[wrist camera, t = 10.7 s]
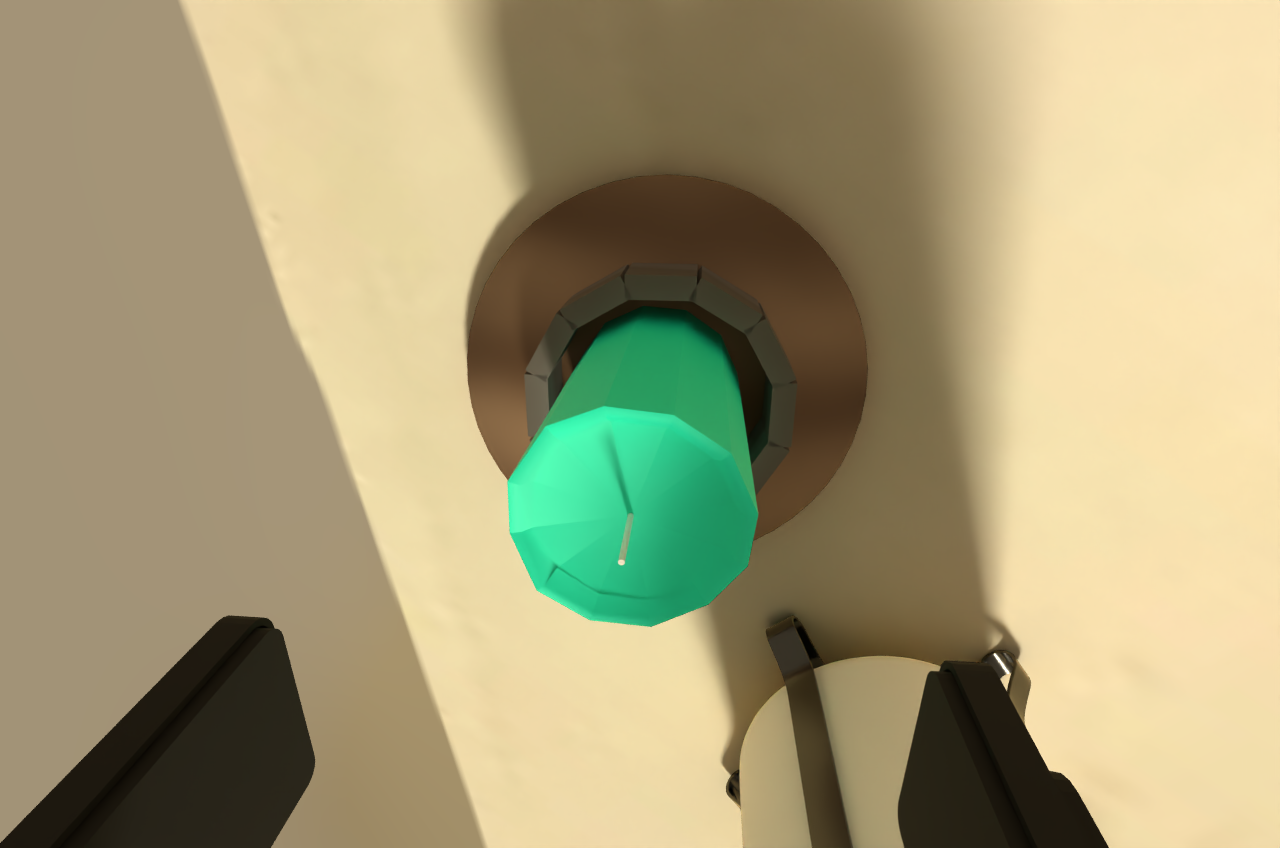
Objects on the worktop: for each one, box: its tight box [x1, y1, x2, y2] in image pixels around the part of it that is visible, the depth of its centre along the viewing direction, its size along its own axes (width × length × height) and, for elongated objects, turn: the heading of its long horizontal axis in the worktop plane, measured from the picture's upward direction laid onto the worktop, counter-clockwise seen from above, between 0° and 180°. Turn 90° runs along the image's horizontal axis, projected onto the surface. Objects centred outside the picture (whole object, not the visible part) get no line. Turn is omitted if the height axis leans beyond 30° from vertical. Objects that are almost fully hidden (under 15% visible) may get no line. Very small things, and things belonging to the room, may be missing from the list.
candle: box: [508, 306, 758, 627], centre depth 20 cm, size 6×6×12 cm
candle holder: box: [467, 175, 868, 540], centre depth 25 cm, size 15×15×4 cm
